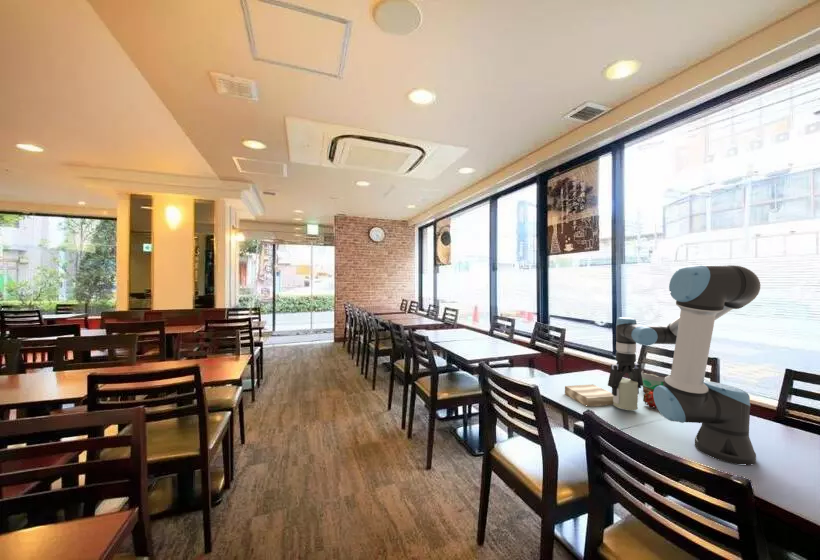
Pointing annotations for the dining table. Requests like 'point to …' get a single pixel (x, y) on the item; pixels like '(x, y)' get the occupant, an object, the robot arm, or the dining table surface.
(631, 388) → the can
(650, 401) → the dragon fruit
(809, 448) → the dining table surface
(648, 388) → the food container
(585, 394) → the riser block
